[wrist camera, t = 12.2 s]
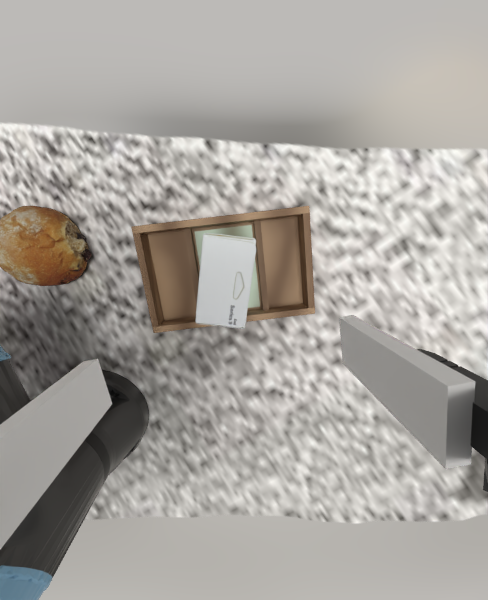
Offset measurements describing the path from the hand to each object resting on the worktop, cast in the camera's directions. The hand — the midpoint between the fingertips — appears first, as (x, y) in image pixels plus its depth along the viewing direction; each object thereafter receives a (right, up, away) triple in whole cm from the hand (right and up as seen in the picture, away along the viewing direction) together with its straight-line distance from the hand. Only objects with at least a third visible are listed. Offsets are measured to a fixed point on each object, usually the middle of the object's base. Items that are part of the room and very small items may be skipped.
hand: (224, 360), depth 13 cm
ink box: (-1, +7, +20) cm, 21 cm away
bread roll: (-25, +10, +20) cm, 33 cm away
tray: (-1, +8, +21) cm, 22 cm away
